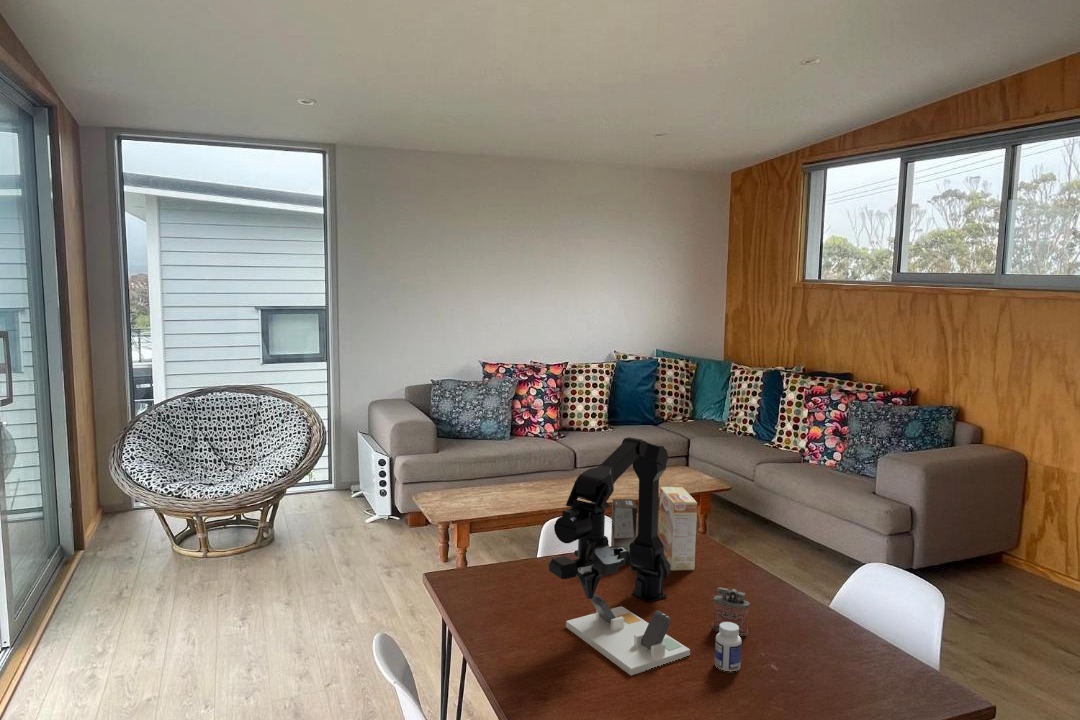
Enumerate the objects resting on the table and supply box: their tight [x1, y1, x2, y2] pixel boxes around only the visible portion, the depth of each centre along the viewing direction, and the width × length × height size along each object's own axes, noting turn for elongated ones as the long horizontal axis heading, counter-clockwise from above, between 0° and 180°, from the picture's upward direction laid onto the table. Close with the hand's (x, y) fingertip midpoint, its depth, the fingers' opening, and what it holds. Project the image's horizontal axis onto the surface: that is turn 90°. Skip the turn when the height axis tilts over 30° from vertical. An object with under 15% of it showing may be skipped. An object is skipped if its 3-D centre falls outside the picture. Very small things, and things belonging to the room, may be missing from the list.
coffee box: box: [610, 498, 638, 553], centre depth 216 cm, size 9×6×16 cm
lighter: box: [711, 587, 751, 635], centre depth 173 cm, size 8×3×10 cm, turn 65°
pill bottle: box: [714, 622, 743, 673], centre depth 158 cm, size 5×5×9 cm
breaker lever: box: [589, 593, 616, 624], centre depth 171 cm, size 2×4×8 cm
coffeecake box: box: [658, 486, 698, 571], centre depth 215 cm, size 15×7×20 cm, turn 5°
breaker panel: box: [565, 605, 691, 676], centre depth 167 cm, size 16×24×9 cm, turn 31°
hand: (589, 598), depth 169 cm, fingers closed
